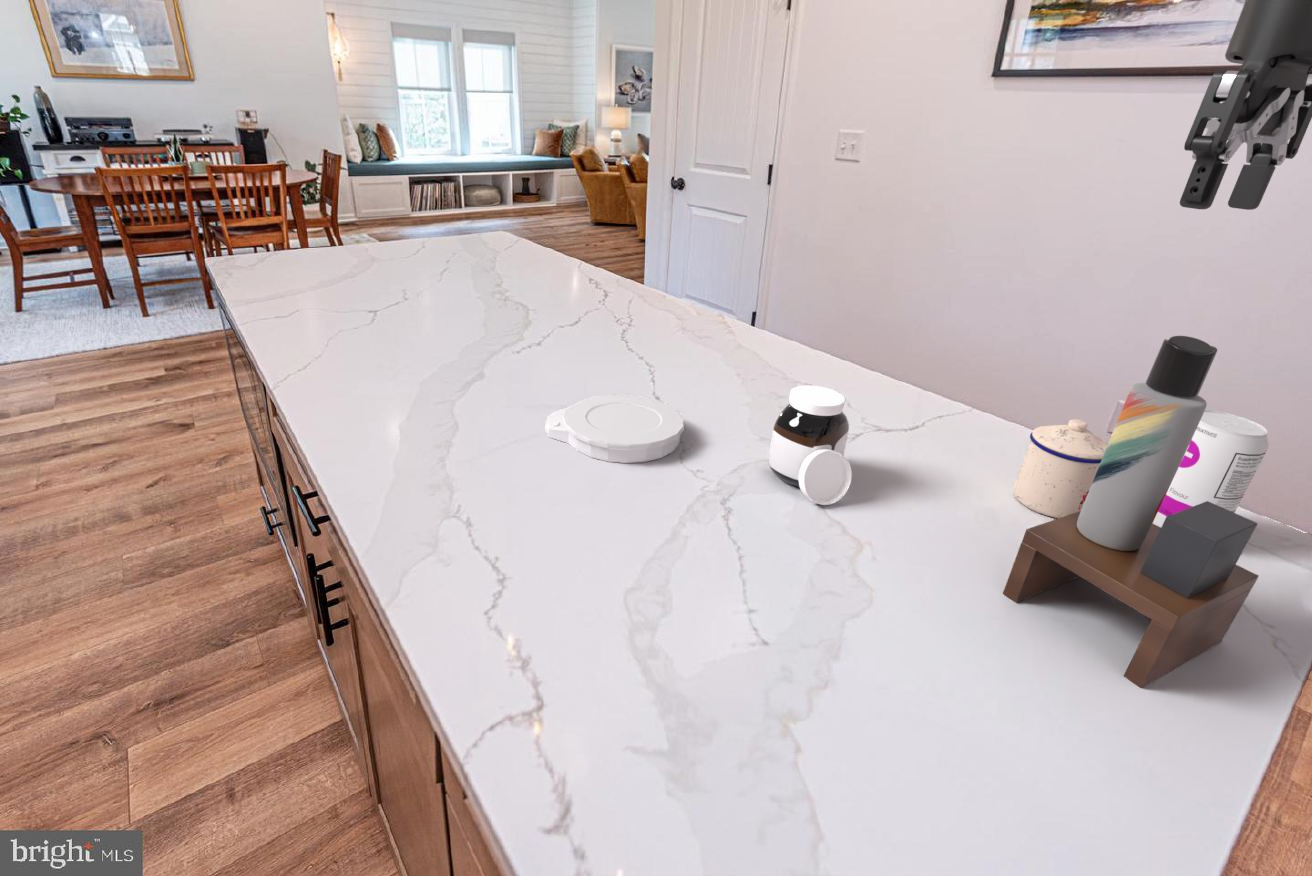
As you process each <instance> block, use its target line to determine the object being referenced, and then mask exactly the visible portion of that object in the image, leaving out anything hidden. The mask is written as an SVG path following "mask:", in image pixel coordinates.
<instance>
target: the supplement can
mask: <svg viewBox="0 0 1312 876" xmlns="http://www.w3.org/2000/svg"><path fill="white" fill-rule="evenodd" d="M1268 433H1269V430H1268V429H1267V428H1266V427H1265V426H1263V425H1261V424H1260V423H1258V422H1256V421H1253V420H1252V419H1249V418H1246V417H1242V416H1239V415H1236V414H1232V413H1228V412H1224V411H1218V410H1211V409H1210V410H1209V409H1205V411H1204V413H1203V416H1202V418H1201V420H1200V422H1199V424H1198V427H1197V429H1196V431H1195V433H1194V435H1193V437H1192V439H1191V442H1190V444H1189V446H1188V448H1187V450H1186V452H1185V455H1184V457H1183V459H1182V461H1181V463H1180V465H1179V467H1178V470H1177V472H1176V474H1175V476H1174V478H1173V480H1172V483H1171V485H1170V487H1169V489H1168V491H1167V493H1166V495H1165V498H1164V500H1163V502H1162V504H1161V506H1160V508H1159V511H1158V513H1157V515H1156V517H1155V519H1154V521H1153V524H1155V525H1157V526H1159V527H1162V525H1163V523H1164V521H1165V519H1166V517H1167V516H1170V515H1172V514H1175V513H1178V512H1180V511H1183V510H1185V509H1188V508H1191V507H1193V506H1196V505H1198V504H1201V503H1204V502H1206V501H1208V502H1211V503H1213V504H1215V505H1218V506H1220V507H1222V508H1224V509H1227V510H1229V511H1231V512H1233V513H1236V511H1237V509H1238V507H1239V505H1240V503H1241V502H1242V499H1243V498H1244V496H1245V493H1246V491H1247V490H1248V488H1249V485H1250V484H1251V482H1252V480H1253V479H1254V476H1255V474H1256V472H1257V471H1258V469H1259V467H1260V465H1261V463H1262V461H1263V460H1264V457H1265V456H1266V453H1267V452H1268V449H1269V446H1270V445H1269V444H1270V443H1269V439H1268Z"/></svg>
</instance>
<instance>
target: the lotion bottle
mask: <svg viewBox="0 0 1312 876" xmlns="http://www.w3.org/2000/svg"><path fill="white" fill-rule="evenodd" d="M1217 353H1218V348H1216V346H1213V345H1210V344H1209V343H1208V342H1206V341H1204V340H1202V339H1199V338H1195V337H1193V336H1188V335H1187V336H1186V335H1173V336H1171V337H1169V338H1168V339H1166V338H1165V339H1164V340H1163V342H1162V343H1161V346H1160V348H1159V351H1158V353H1157V355H1156V358H1155V360H1154V362H1153V364H1152V367H1151V369H1150V371H1149V374H1148V376H1147V378H1146V380H1145V382H1137V383H1134V384H1132V386H1131V387H1130V390H1129V392H1128V394H1127V396H1126V399H1125V400H1124V401H1125V402H1124V404H1123V406H1122V409H1121V410H1120V411H1121V412H1120V414H1119V415H1118V419H1117V421H1116V423H1115V426H1114V428H1113V431H1112V433H1111V436H1110V438H1109V441H1108V442H1107V444H1108V445H1107V448H1106V450H1105V453H1104V455H1103V458H1102V460H1101V463H1100V465H1099V468H1098V470H1097V473H1096V475H1095V477H1094V480H1093V482H1092V485H1091V487H1090V490H1089V492H1088V495H1087V497H1086V500H1085V502H1084V505H1083V507H1082V510H1081V512H1080V515H1079V518H1078V521H1077V528H1078V530H1079V531H1080V533H1081V534H1082V535H1084V536H1085V537H1086V538H1088V539H1089V540H1091V541H1093V542H1095V543H1097V544H1099V545H1102V546H1104V547H1107V548H1111V549H1115V550H1120V551H1133V550H1136V549H1138V548H1140V546H1141V545H1142V544H1143V542H1144V540H1145V538H1146V536H1147V534H1148V532H1149V530H1150V528H1151V526H1152V523H1153V521H1154V519H1155V517H1156V515H1157V513H1158V511H1159V508H1160V506H1161V504H1162V502H1163V500H1164V498H1165V495H1166V493H1167V491H1168V489H1169V487H1170V485H1171V483H1172V480H1173V478H1174V476H1175V474H1176V472H1177V470H1178V467H1179V465H1180V463H1181V461H1182V459H1183V457H1184V455H1185V452H1186V450H1187V448H1188V446H1189V444H1190V442H1191V439H1192V437H1193V435H1194V433H1195V431H1196V429H1197V427H1198V424H1199V422H1200V420H1201V418H1202V416H1203V413H1204V411H1205V410H1207V409H1206V408H1207V405H1208V404H1207V403H1208V402H1207V401H1206V400H1205V399H1204V398H1203V397H1201V396H1200V395H1199V394H1200V392H1201V389H1202V387H1203V385H1204V383H1205V380H1206V378H1207V376H1208V373H1209V371H1210V369H1211V366H1212V364H1213V362H1214V359H1215V357H1216V356H1217Z"/></svg>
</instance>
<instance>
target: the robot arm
mask: <svg viewBox="0 0 1312 876" xmlns="http://www.w3.org/2000/svg"><path fill="white" fill-rule="evenodd" d="M1224 57H1225V59H1226V61H1228V62H1230V63H1233V64H1237V65H1241V66H1240V67H1239V69H1218V70H1216V71H1214V72H1213V74H1212V76H1211V78H1210V81H1209V83H1208V86H1207V89H1206V91H1205V93H1204V95H1203V98H1202V101H1201V102H1200V106H1199V108H1198V111H1197V112H1196V115H1195V118H1194V120H1193V122H1192V125H1191V127H1190V130H1189V133H1188V134H1187V137H1186V139H1185V142H1184V146H1183V149H1184V150H1185V151H1188V152H1192V154H1191V157H1192V160H1195V161H1194V164H1193V165H1192V169H1191V171H1190V173H1189V176H1188V178H1187V181H1186V184H1185V187H1184V189H1183V192H1182V195H1181V197H1180V199H1179V200H1180V201H1179V205H1180V207H1182V208H1187V209H1193V210H1207V209H1209V208H1211V206H1212V205H1213V203H1214V200H1215V199H1216V196H1217V193H1218V191H1219V188H1220V186H1221V183H1222V181H1223V178H1224V176H1225V174H1226V171H1227V168H1228V166H1229V163H1228V162H1229V161H1230V160H1231V159H1232V158H1233V156H1234V155H1235V154H1236V152H1237V151H1238V150H1239V149H1240V147H1241V146H1242V145H1243V144H1244V143H1245V144H1246V155H1245V156H1246V158H1245V162H1246V163H1247V164H1245V163H1243V165H1242V168H1241V170H1240V173H1239V174H1238V177H1237V180H1236V182H1235V184H1234V187H1233V189H1232V191H1231V194H1230V196H1229V199H1228V201H1227V205H1228V207H1229V208H1232V209H1240V210H1247V211H1249V210H1250V211H1252V210H1256V209H1257V208H1258V207H1259V206H1260V204H1261V203H1262V200H1263V198H1264V195H1265V193H1266V191H1267V188H1268V186H1269V184H1270V181H1271V179H1272V177H1273V174H1274V172H1275V170H1276V167H1277V166H1278V167H1279V166H1281V165H1282V164H1283V163H1284V161H1285V160H1286V159H1289V160H1291V159H1292V160H1293V159H1294V158H1295V157H1296V155H1297V154H1298V152H1299V149H1300V147H1301V144H1302V142H1303V140H1304V137H1305V134H1306V133H1307V130H1308V128H1309V125H1310V123H1311V121H1312V82H1311V83H1308V78H1309V75H1310V71H1311V69H1312V0H1245V1H1244V4H1243V6H1242V10H1241V12H1240V14H1239V17H1238V20H1237V23H1236V25H1235V28H1234V30H1233V32H1232V35H1231V38H1230V41H1229V43H1228V46H1227V49H1226V51H1225V54H1224ZM1204 132H1206V133H1205V134H1204Z"/></svg>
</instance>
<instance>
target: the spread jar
mask: <svg viewBox="0 0 1312 876" xmlns="http://www.w3.org/2000/svg"><path fill="white" fill-rule="evenodd" d="M845 403H846V398H845V396H844V395H843V394H842V393H841V392H838V391H837V390H834V389H832V388H829V387H825V386H820V385H810V384H808V385H807V384H806V385H804V384H803V385H798V386H795V387H792V389H791V390H790V393H789V397H788V404H787V405H786V406H785V407H784V408H783V409H782V411H781V412H780V413H779V415H778V416H777V418H776V420H775V422H774V425H773V429H772V432H771V433H772V434H771V438H770V445H769V451H768V466H769V468H770V470H771V472H772V473H773V474H774V475H775V476H777V477H778V478H779V479H780V480H781V481H783V482H784V483H786V484H787V485H790V486H792V487H795V488H799V489H800V491H801V493H802V495H803V496H804V497H805V498H806V499H807V500H809V501H811V502H813V503H815V504H818V505H821V506H829V505H833V504H836V503H838V502H839V501H840V500H842V499H843V498H844V496H845V495H846V494H847V493H848V491H849V489H850V486H851V483H852V477H853V476H852V475H853V471H852V465H851V463H850V462H849V460H848V457H846V456H845V450H846V445H847V441H848V436H849V429H850V423H849V419H848V417H847V416H846V414H845V413H844V407H845Z"/></svg>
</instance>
